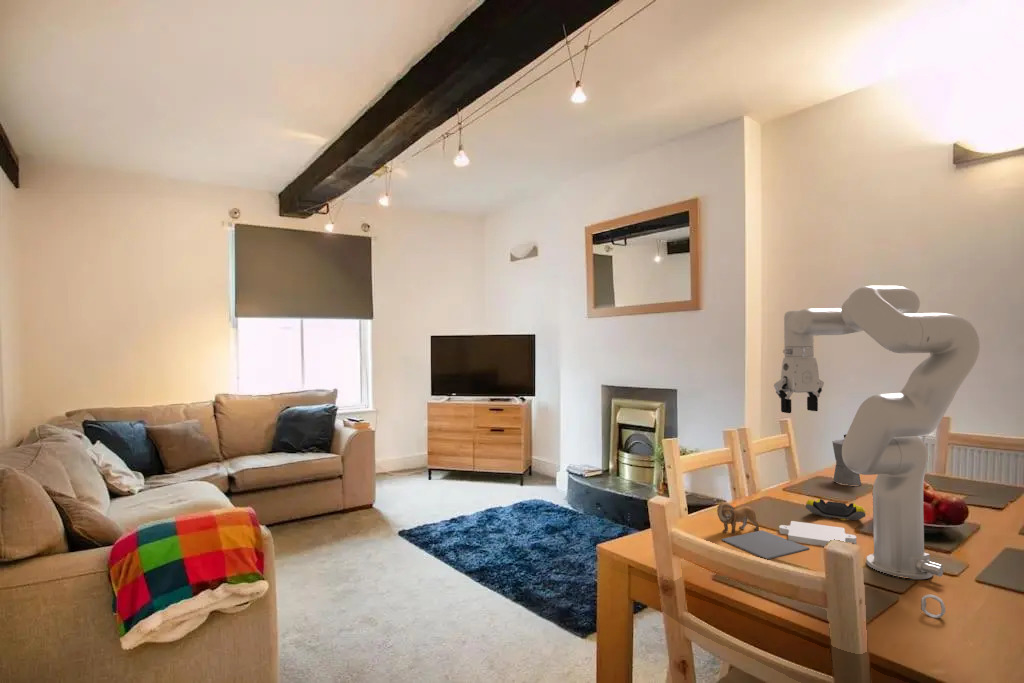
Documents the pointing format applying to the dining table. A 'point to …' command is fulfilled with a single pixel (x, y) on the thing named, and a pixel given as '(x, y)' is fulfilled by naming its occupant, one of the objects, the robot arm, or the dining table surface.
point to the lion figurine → (736, 516)
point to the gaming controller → (835, 510)
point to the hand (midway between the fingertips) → (799, 411)
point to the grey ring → (923, 606)
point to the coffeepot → (843, 467)
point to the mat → (765, 544)
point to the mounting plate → (815, 533)
